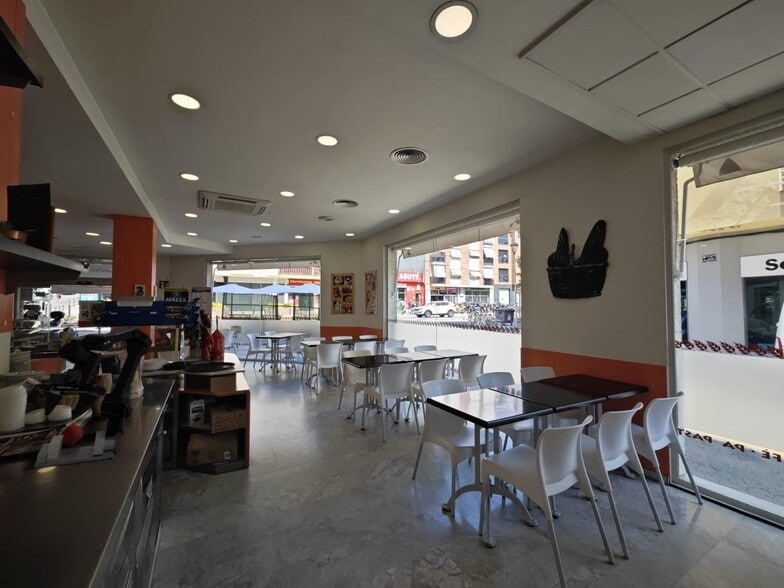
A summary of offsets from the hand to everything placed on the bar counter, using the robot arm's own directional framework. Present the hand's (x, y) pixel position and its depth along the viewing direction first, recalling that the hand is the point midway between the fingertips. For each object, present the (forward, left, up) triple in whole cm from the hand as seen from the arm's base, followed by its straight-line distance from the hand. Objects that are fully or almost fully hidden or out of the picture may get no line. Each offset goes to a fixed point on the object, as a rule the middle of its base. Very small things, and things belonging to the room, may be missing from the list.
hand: (59, 416), depth 112 cm
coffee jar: (-49, +16, -14) cm, 53 cm away
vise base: (-1, +6, -14) cm, 15 cm away
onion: (-13, +3, -14) cm, 19 cm away
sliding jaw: (-1, +13, -12) cm, 18 cm away
